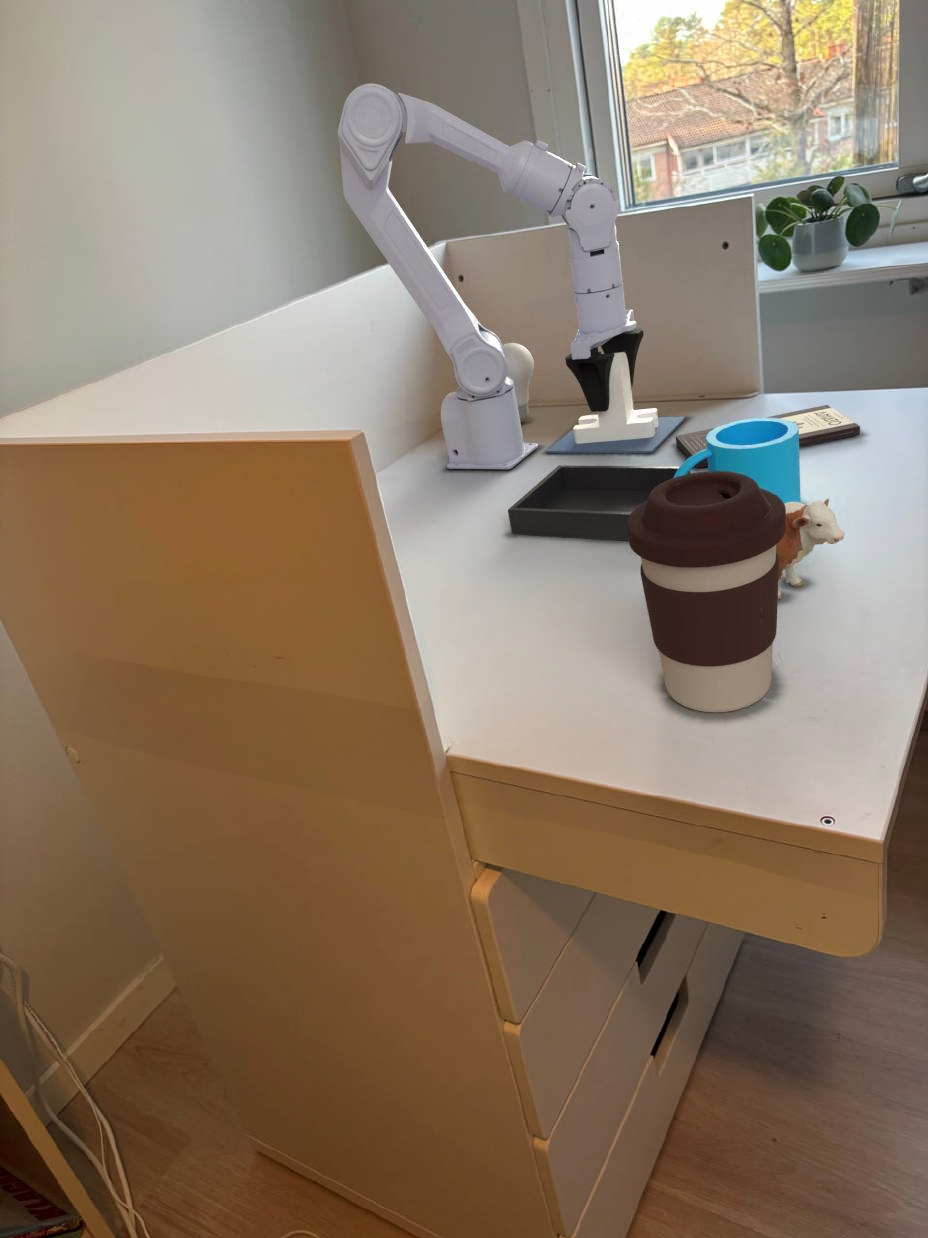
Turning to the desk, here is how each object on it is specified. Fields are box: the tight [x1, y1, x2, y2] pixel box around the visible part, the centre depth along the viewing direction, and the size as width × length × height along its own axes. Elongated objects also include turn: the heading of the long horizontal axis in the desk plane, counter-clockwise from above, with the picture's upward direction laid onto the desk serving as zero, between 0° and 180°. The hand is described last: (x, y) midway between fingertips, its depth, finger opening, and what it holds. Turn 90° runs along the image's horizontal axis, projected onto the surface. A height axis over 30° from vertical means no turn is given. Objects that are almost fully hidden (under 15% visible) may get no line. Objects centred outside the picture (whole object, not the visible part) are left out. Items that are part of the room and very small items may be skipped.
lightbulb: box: [502, 342, 535, 423], centre depth 128 cm, size 6×6×11 cm
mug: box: [673, 417, 802, 504], centre depth 87 cm, size 12×8×8 cm
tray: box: [507, 464, 692, 542], centre depth 96 cm, size 15×12×3 cm
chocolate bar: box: [675, 404, 861, 469], centre depth 106 cm, size 9×1×18 cm
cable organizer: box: [572, 352, 659, 444], centre depth 115 cm, size 5×10×10 cm, turn 72°
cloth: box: [545, 416, 687, 454], centre depth 117 cm, size 14×12×1 cm
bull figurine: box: [776, 498, 845, 601], centre depth 74 cm, size 4×13×8 cm, turn 63°
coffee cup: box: [627, 470, 786, 713], centre depth 62 cm, size 10×10×15 cm
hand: (611, 400), depth 115 cm, fingers open, 7 cm apart
